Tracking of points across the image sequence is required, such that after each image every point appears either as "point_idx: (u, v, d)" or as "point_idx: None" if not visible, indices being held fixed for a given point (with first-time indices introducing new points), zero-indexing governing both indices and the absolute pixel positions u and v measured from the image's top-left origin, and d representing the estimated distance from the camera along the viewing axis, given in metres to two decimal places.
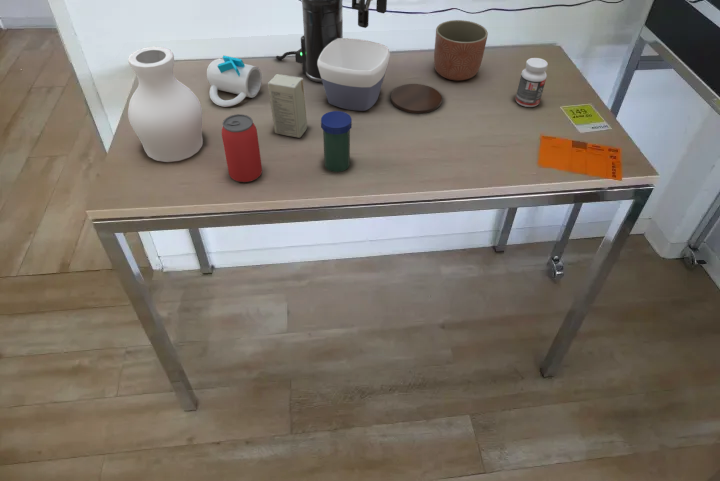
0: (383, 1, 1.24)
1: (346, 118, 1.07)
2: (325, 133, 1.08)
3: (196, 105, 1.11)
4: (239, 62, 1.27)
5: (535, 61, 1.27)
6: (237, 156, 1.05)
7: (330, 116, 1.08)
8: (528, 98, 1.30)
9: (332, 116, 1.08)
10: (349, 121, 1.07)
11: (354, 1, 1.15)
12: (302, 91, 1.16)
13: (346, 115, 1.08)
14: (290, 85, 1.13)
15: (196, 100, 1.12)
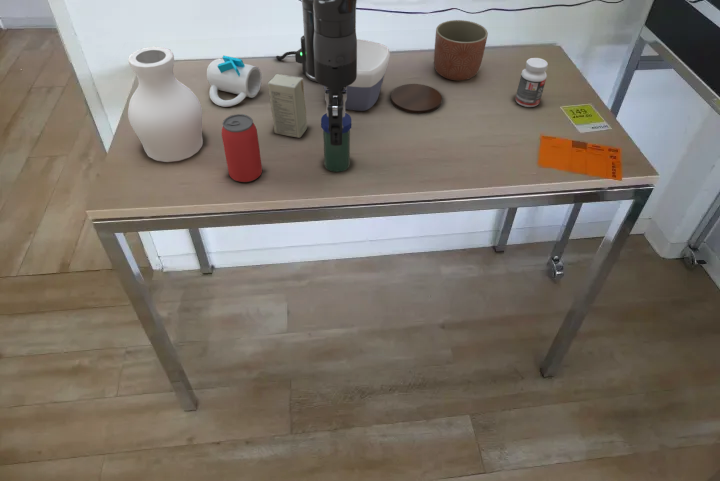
0: None
1: (346, 118, 1.07)
2: (325, 133, 1.08)
3: (196, 105, 1.11)
4: (239, 62, 1.27)
5: (535, 61, 1.27)
6: (237, 156, 1.05)
7: None
8: (528, 98, 1.30)
9: None
10: (349, 121, 1.07)
11: (331, 125, 1.01)
12: (302, 91, 1.16)
13: (346, 115, 1.08)
14: (290, 85, 1.13)
15: (196, 100, 1.12)
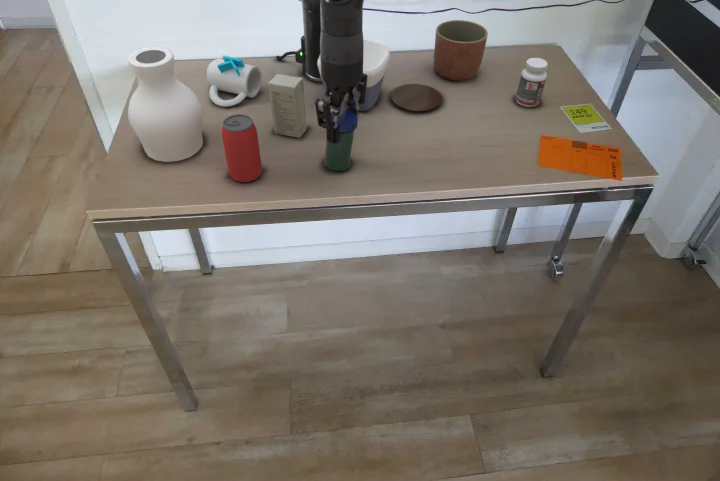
0: None
1: None
2: None
3: (196, 105, 1.11)
4: (239, 62, 1.27)
5: (535, 61, 1.27)
6: (237, 156, 1.05)
7: (344, 121, 1.06)
8: (528, 98, 1.30)
9: (343, 120, 1.06)
10: None
11: None
12: (302, 91, 1.16)
13: None
14: (290, 85, 1.13)
15: (196, 100, 1.12)
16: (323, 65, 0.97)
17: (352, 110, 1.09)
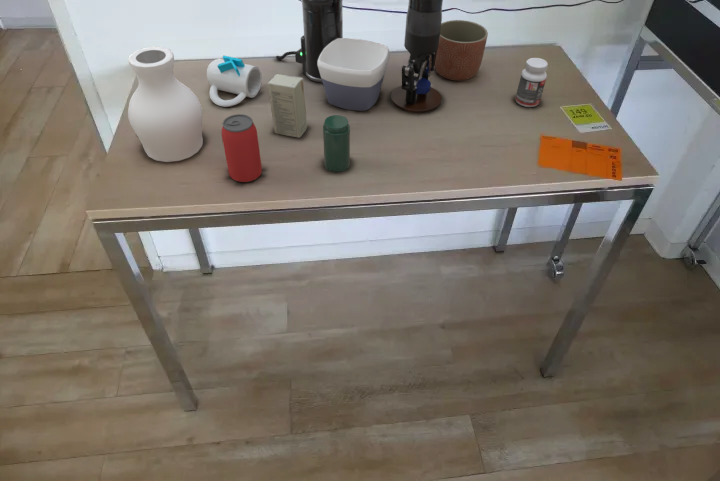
0: None
1: None
2: (325, 133, 1.08)
3: (196, 105, 1.11)
4: (239, 62, 1.27)
5: (535, 61, 1.27)
6: (237, 156, 1.05)
7: (421, 85, 1.29)
8: (528, 98, 1.30)
9: (419, 84, 1.29)
10: None
11: None
12: (302, 91, 1.16)
13: None
14: (290, 85, 1.13)
15: (196, 100, 1.12)
16: (409, 37, 1.20)
17: (424, 76, 1.31)
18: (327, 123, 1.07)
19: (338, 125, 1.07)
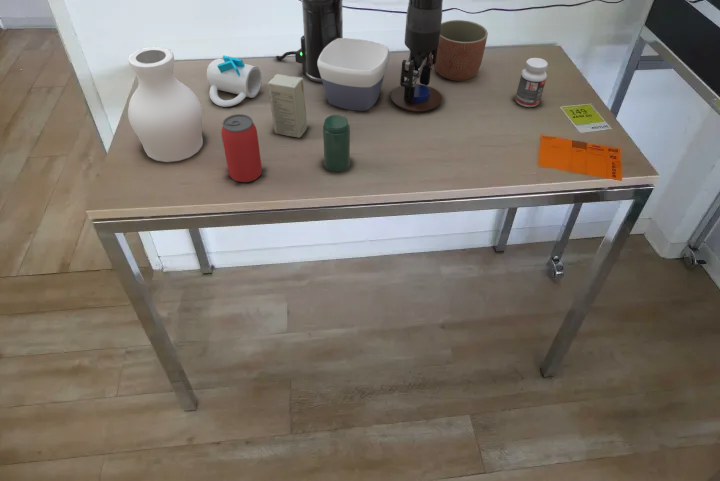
0: None
1: None
2: (325, 133, 1.08)
3: (196, 105, 1.11)
4: (239, 62, 1.27)
5: (535, 61, 1.27)
6: (237, 156, 1.05)
7: (420, 93, 1.31)
8: (528, 98, 1.30)
9: (418, 93, 1.31)
10: None
11: None
12: (302, 91, 1.16)
13: None
14: (290, 85, 1.13)
15: (196, 100, 1.12)
16: (409, 34, 1.20)
17: (426, 69, 1.31)
18: (327, 123, 1.07)
19: (338, 125, 1.07)
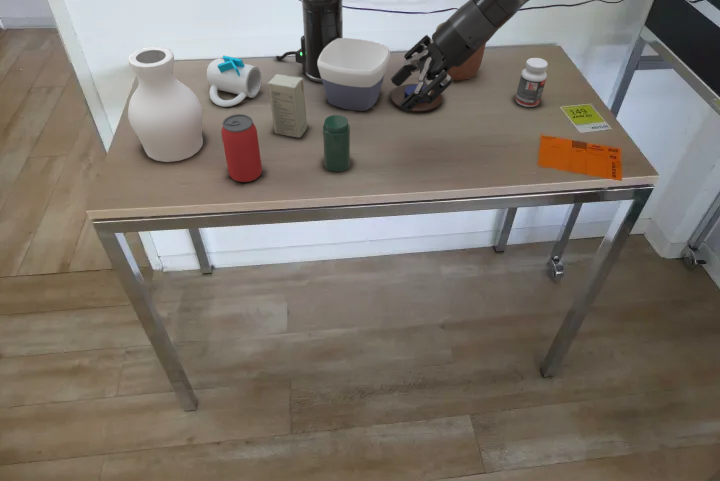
0: (406, 76, 1.08)
1: (409, 89, 1.32)
2: (325, 133, 1.08)
3: (196, 105, 1.11)
4: (239, 62, 1.27)
5: (535, 61, 1.27)
6: (237, 156, 1.05)
7: None
8: (528, 98, 1.30)
9: None
10: (409, 86, 1.33)
11: None
12: (302, 91, 1.16)
13: (407, 91, 1.31)
14: (290, 85, 1.13)
15: (196, 100, 1.12)
16: None
17: None
18: (327, 123, 1.07)
19: (338, 125, 1.07)
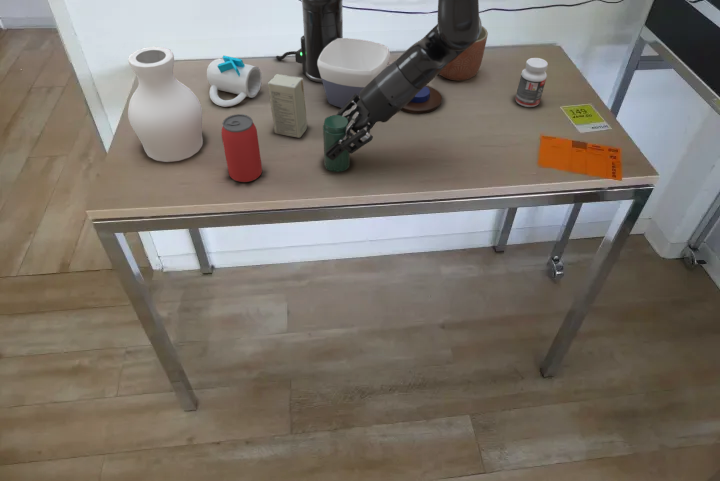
0: None
1: None
2: (325, 133, 1.08)
3: (196, 105, 1.11)
4: (239, 62, 1.27)
5: (535, 61, 1.27)
6: (237, 156, 1.05)
7: (420, 93, 1.31)
8: (528, 98, 1.30)
9: (418, 93, 1.31)
10: None
11: None
12: (302, 91, 1.16)
13: None
14: (290, 85, 1.13)
15: (196, 100, 1.12)
16: None
17: None
18: (327, 123, 1.07)
19: (338, 125, 1.07)
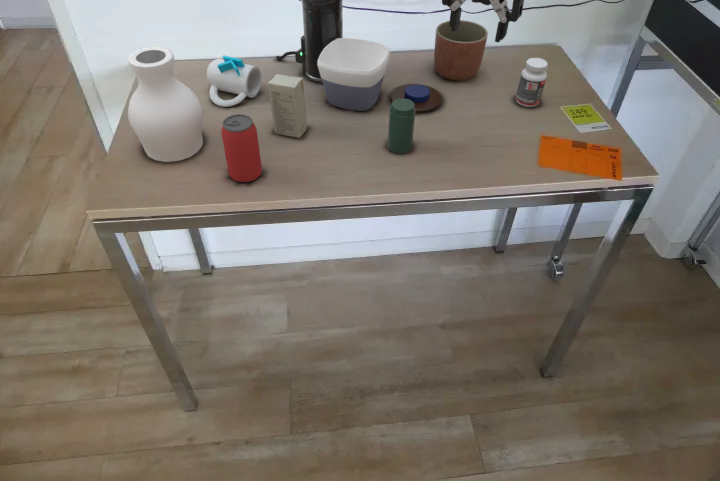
0: (459, 14, 1.04)
1: (409, 89, 1.32)
2: (392, 115, 1.12)
3: (196, 105, 1.11)
4: (239, 62, 1.27)
5: (535, 61, 1.27)
6: (237, 156, 1.05)
7: (420, 93, 1.31)
8: (528, 98, 1.30)
9: (418, 93, 1.31)
10: (409, 86, 1.33)
11: None
12: (302, 91, 1.16)
13: (407, 91, 1.31)
14: (290, 85, 1.13)
15: (196, 100, 1.12)
16: None
17: None
18: (395, 106, 1.12)
19: (405, 108, 1.11)
